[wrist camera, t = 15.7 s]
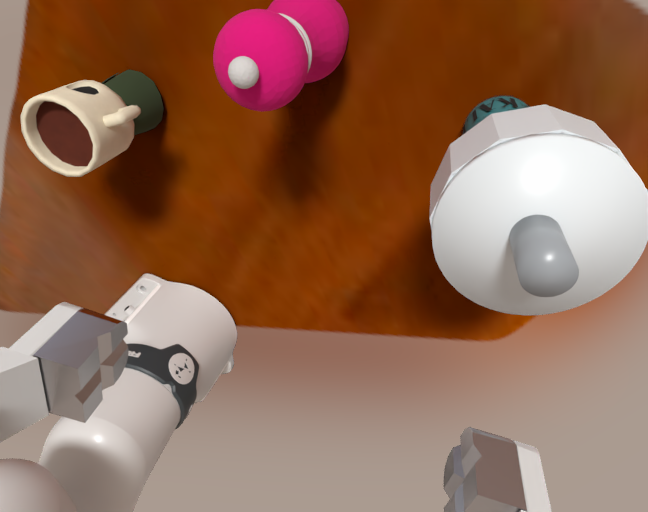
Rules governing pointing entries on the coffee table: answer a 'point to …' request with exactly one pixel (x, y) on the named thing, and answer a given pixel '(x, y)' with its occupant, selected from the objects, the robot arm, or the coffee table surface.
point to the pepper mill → (279, 51)
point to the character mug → (90, 121)
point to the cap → (536, 212)
